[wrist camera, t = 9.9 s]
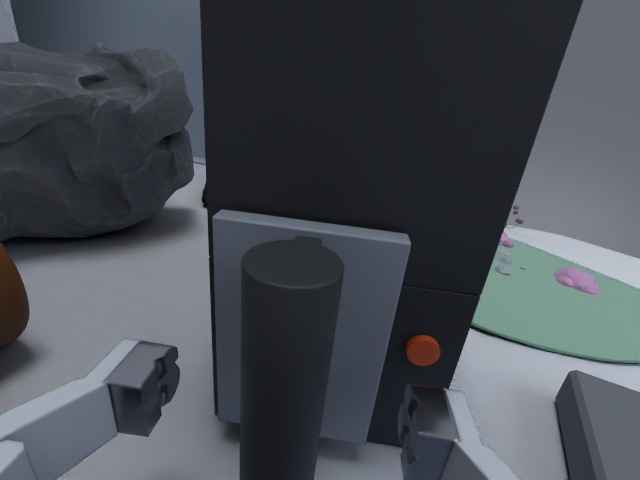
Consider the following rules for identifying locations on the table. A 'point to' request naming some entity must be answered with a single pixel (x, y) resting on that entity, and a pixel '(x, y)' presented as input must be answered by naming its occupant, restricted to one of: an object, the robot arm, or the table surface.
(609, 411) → the electronic device
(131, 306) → the table surface
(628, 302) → the plant
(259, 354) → the drawer
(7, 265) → the mug
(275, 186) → the coffee maker
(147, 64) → the rock
